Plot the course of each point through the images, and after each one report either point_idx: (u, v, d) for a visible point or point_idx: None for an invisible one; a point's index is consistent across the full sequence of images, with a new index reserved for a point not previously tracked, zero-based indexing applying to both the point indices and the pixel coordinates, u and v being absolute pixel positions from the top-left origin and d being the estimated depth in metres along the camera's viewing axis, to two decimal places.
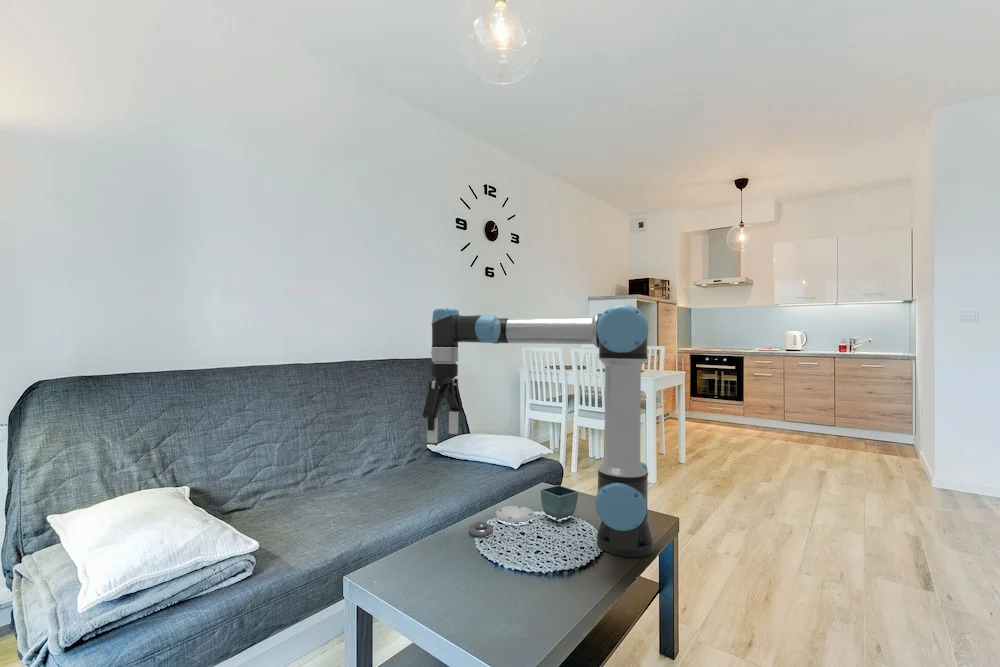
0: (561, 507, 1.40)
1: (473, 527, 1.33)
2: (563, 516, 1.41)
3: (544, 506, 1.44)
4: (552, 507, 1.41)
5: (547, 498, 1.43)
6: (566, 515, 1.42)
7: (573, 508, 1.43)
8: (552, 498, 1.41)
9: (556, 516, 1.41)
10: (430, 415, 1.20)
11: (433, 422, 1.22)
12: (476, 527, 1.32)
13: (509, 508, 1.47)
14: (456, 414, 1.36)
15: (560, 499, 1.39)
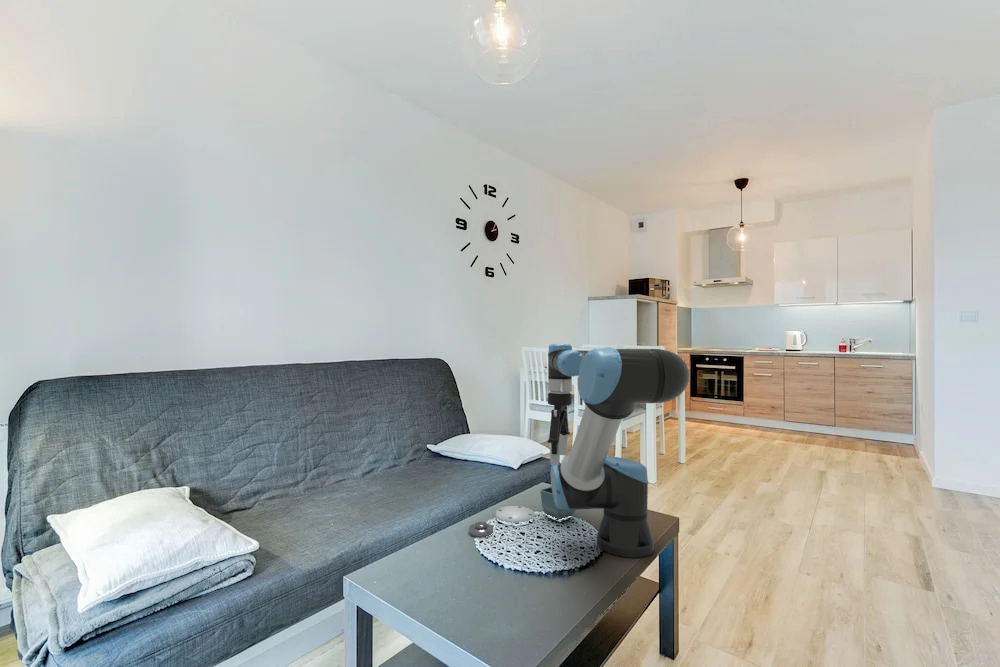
0: None
1: (473, 527, 1.33)
2: (563, 516, 1.41)
3: (544, 506, 1.44)
4: (552, 507, 1.41)
5: (547, 498, 1.43)
6: (566, 515, 1.42)
7: None
8: (552, 498, 1.41)
9: (556, 516, 1.41)
10: (556, 441, 1.36)
11: (556, 447, 1.38)
12: (476, 527, 1.32)
13: (509, 508, 1.47)
14: (566, 437, 1.51)
15: None
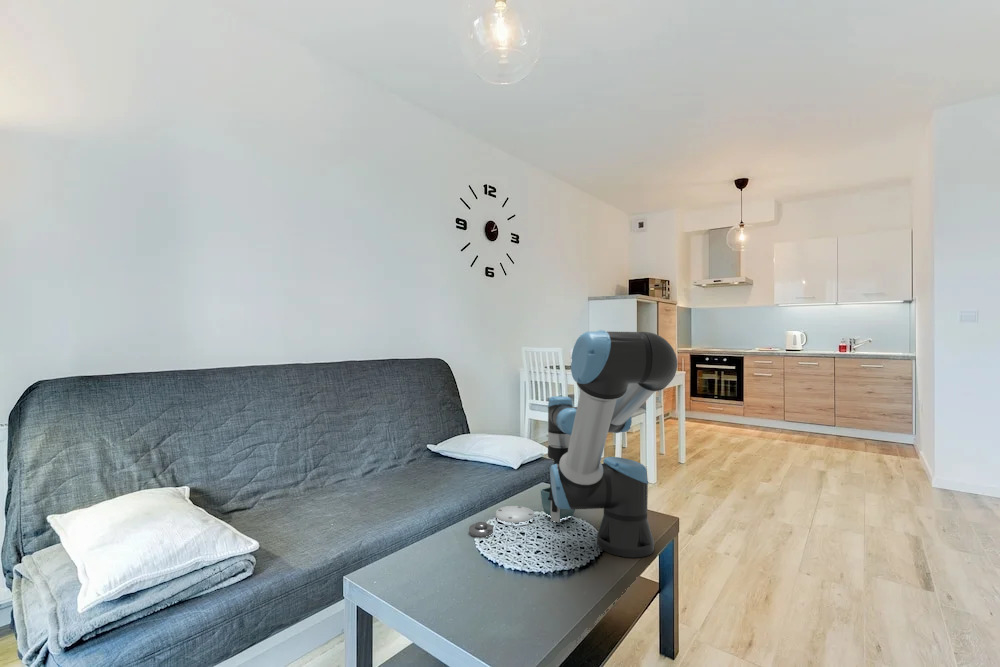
0: None
1: (473, 527, 1.33)
2: (563, 516, 1.41)
3: (544, 506, 1.44)
4: None
5: (547, 498, 1.43)
6: (566, 515, 1.42)
7: None
8: None
9: None
10: None
11: None
12: (476, 527, 1.32)
13: (509, 508, 1.47)
14: None
15: None
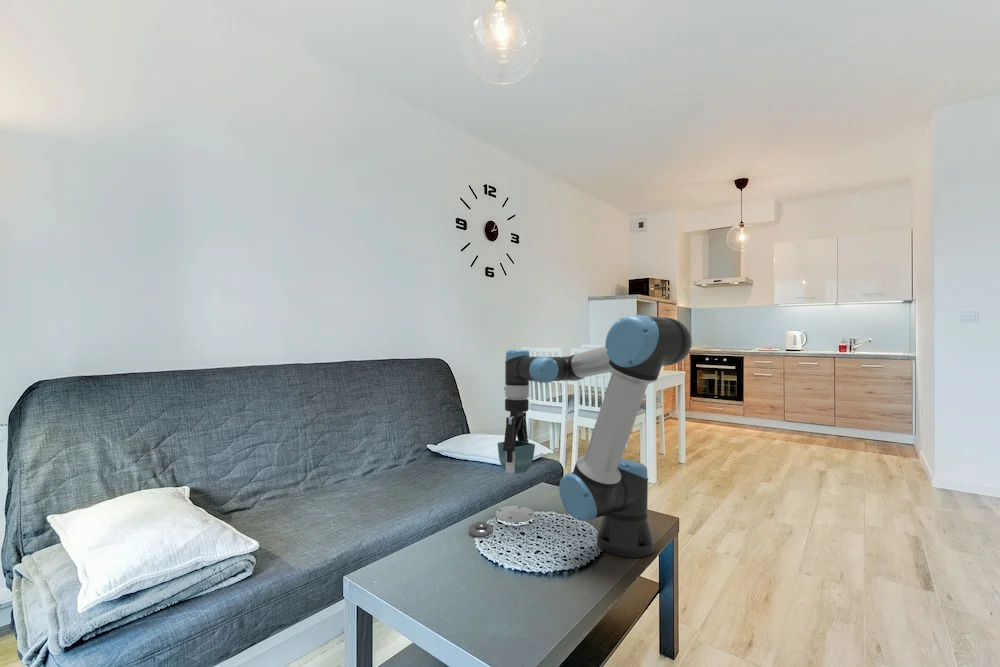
0: (517, 458, 1.39)
1: (473, 527, 1.33)
2: (519, 468, 1.41)
3: (501, 459, 1.44)
4: None
5: None
6: (522, 467, 1.42)
7: (529, 460, 1.43)
8: None
9: None
10: (510, 449, 1.36)
11: (511, 455, 1.38)
12: (476, 527, 1.32)
13: (509, 508, 1.47)
14: None
15: (515, 450, 1.39)
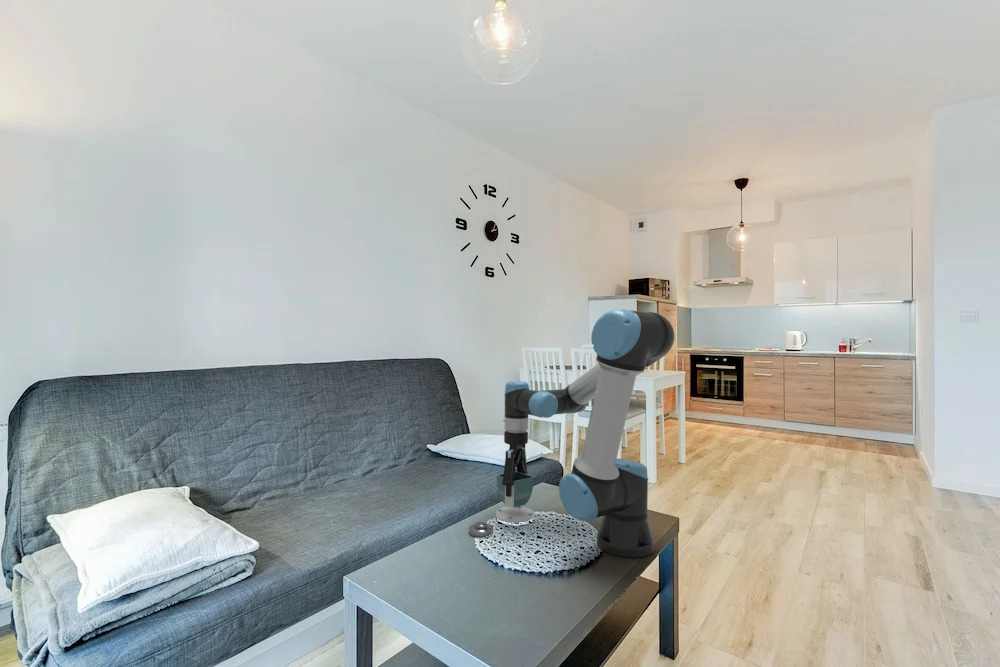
0: (516, 492, 1.39)
1: (473, 527, 1.33)
2: (518, 501, 1.40)
3: (500, 491, 1.44)
4: None
5: None
6: (521, 500, 1.41)
7: (529, 493, 1.43)
8: None
9: None
10: (509, 484, 1.36)
11: (511, 489, 1.38)
12: (476, 527, 1.32)
13: (509, 508, 1.47)
14: None
15: (515, 484, 1.39)
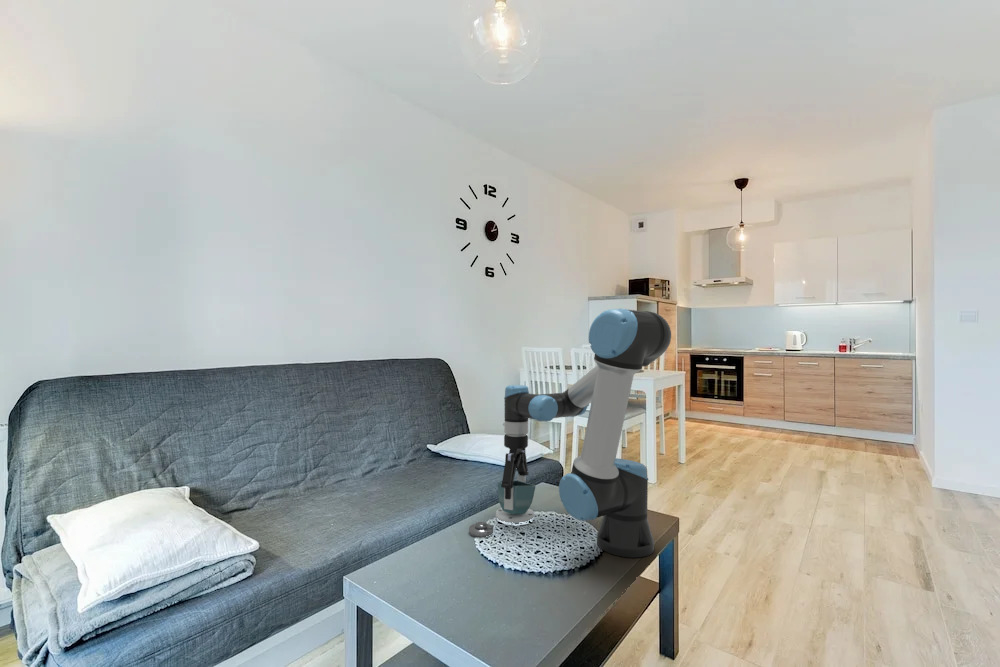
0: (516, 498, 1.38)
1: (473, 527, 1.33)
2: (518, 508, 1.39)
3: (500, 498, 1.42)
4: None
5: (503, 489, 1.42)
6: (521, 508, 1.40)
7: (529, 502, 1.41)
8: None
9: None
10: (508, 486, 1.35)
11: (510, 491, 1.37)
12: (476, 527, 1.32)
13: None
14: (524, 478, 1.50)
15: (515, 489, 1.38)
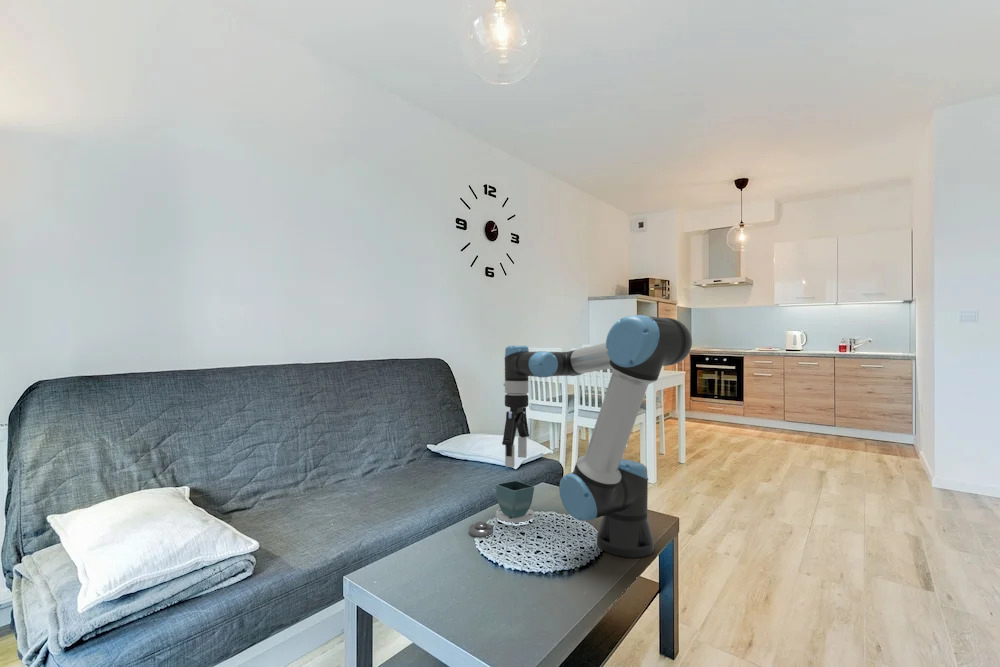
0: (516, 502, 1.37)
1: (473, 527, 1.33)
2: (518, 511, 1.39)
3: (499, 501, 1.42)
4: (507, 502, 1.39)
5: (502, 493, 1.40)
6: (521, 510, 1.39)
7: (528, 503, 1.41)
8: (507, 493, 1.39)
9: (510, 511, 1.38)
10: (509, 443, 1.35)
11: (511, 449, 1.37)
12: (476, 527, 1.32)
13: None
14: (525, 439, 1.50)
15: (515, 494, 1.37)
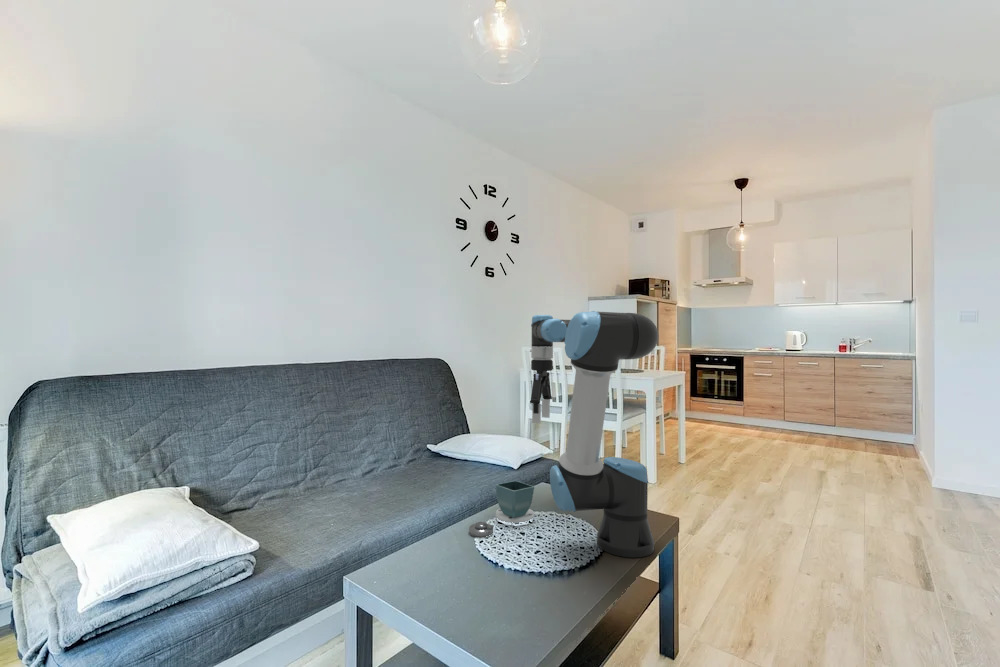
0: (516, 502, 1.37)
1: (473, 527, 1.33)
2: (518, 511, 1.39)
3: (499, 501, 1.42)
4: (507, 502, 1.39)
5: (502, 493, 1.40)
6: (521, 510, 1.39)
7: (528, 503, 1.41)
8: (507, 493, 1.39)
9: (510, 511, 1.38)
10: (537, 401, 1.50)
11: (538, 406, 1.52)
12: (476, 527, 1.32)
13: None
14: (548, 401, 1.66)
15: (514, 494, 1.37)
